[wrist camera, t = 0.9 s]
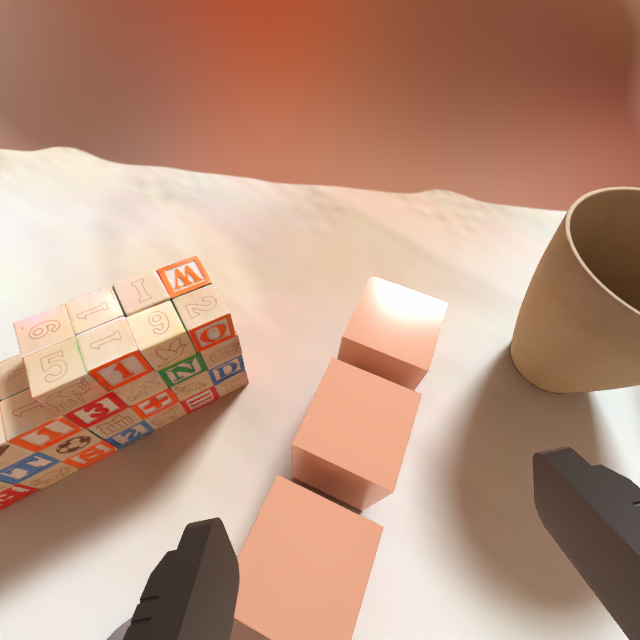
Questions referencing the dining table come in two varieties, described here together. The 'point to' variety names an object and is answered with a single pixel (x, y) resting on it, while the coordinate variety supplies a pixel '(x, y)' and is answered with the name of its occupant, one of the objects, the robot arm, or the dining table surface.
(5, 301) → the dining table surface
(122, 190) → the dining table surface
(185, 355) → the stack of blocks
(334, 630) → the salmon pink rectangular block
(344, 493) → the salmon rectangular block
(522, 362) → the plant pot
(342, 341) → the peach rectangular block
